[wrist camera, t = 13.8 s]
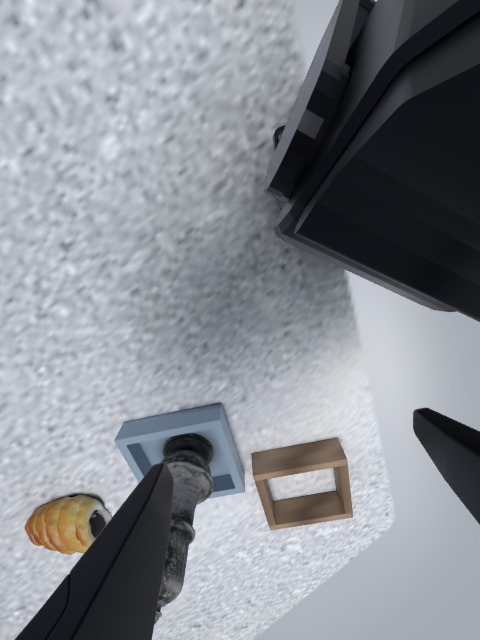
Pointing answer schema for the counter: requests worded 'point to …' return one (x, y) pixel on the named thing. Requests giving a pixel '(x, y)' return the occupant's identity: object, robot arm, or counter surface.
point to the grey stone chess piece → (183, 505)
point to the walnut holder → (299, 462)
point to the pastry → (68, 524)
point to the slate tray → (151, 433)
